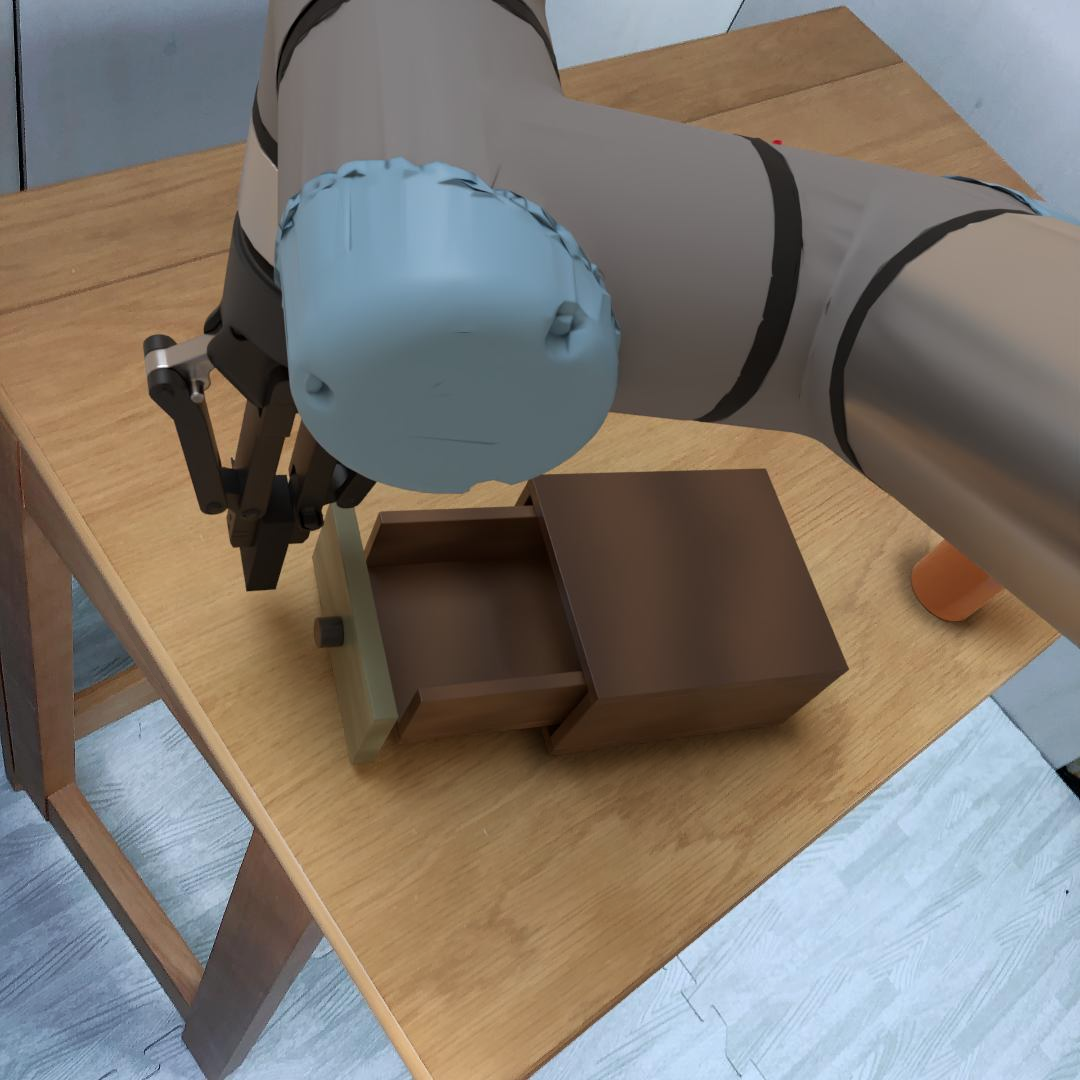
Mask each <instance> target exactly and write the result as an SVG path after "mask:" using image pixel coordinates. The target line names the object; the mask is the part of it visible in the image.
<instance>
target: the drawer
mask: <svg viewBox="0 0 1080 1080" xmlns="http://www.w3.org/2000/svg"><path fill="white" fill-rule="evenodd" d="M323 520H324V525H323V527H321V528H320V531H319V534H318V537H317V540H316V543H315V546H314V550H313V552H312V555H311V559H312V565H313V571H314V577H315V581H316V586H317V587H316V588H317V592H318V597H319V601H320V602H319V603H320V608H321V615H322V616H318V617H316V618H315V619H314V622H313V638H314V642H315V645H316V648H317V649H319V650H323V649H328V651H329V657H330V661H331V662H330V663H331V667H332V672H333V678H334V684H335V689H336V694H337V700H338V706H339V711H340V716H341V722H342V727H343V731H344V737H345V742H346V749H347V753H348V754H347V755H348V758H349V764H350V766H357V765H366V764H372V763H374V761H375V760H376V758H377V757H378V755H379V753H380V751H381V749H382V747H384V744H385V742H386V740H387V739H388V737H389V735H390V733H391V731H392V730H393V733H394V737H395V742H396V744H397V745H403V744H409V743H418V742H419V743H420V742H426V741H434V740H441V739H442V740H444V739H449V738H450V739H451V738H459V737H467V736H475V735H482V734H491V733H499V732H507V731H515V730H522V729H531V728H539V727H540V728H541V726H548V725H556V724H562V723H563V722H564V720H565V719H566V718H567V717H568V716H569V715H570V713H571V712H572V711H573V710H574V709H575V707H576V706H577V705H578V704H579V703H580V702H581V700H582V699H583V698H584V697H585V696H586V694H587V693H588V692H589V690H588V687H587V684H586V680H585V677H584V674H583V670H582V667H581V663H580V660H579V657H578V653H577V650H576V647H575V643H574V640H573V636H572V633H571V630H570V626H569V623H568V620H567V616H566V613H565V609H564V606H563V603H562V599H561V596H560V593H559V589H558V586H557V582H556V579H555V576H554V572H553V569H552V566H551V562H550V559H549V555H548V552H547V549H546V545H545V542H544V539H543V535H542V532H541V528H540V525H539V522H538V518H537V515H536V512H535V508H534V505H532V506H514V505H513V506H512V505H511V506H510V505H509V506H508V505H507V506H486V507H485V506H484V507H482V506H481V507H461V508H460V507H459V508H458V507H456V508H437V509H436V508H435V509H410V510H409V509H408V510H383V511H382V510H381V511H379V512H378V514H377V516H376V519H375V521H374V523H373V526H372V529H371V531H370V534H369V537H368V539H367V541H366V544H365V547H364V546H363V542H362V541H363V540H362V536H361V531H360V527H359V522H358V518H357V512H356V506H355V507H353V508H349V509H344V508H340V507H338V506H337V504H336V502H335V503H330V504H328V507H327V509H326V513H325V516H324V517H323Z"/></svg>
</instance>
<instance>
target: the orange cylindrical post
mask: <svg viewBox="0 0 1080 1080" xmlns="http://www.w3.org/2000/svg"><path fill="white" fill-rule="evenodd" d="M910 582H911V583H910V584H911V586H912V590H913V592H914V594H915V596H916V598H917V599H918V601H919V602H920V603H921V605H922V606H923V607H924V608H925V609H926V610H927V611H928V612H930V613H931V614H933V615H934V616H935V617H937V618H940V619H942V620H943V621H948V622H961V621H964V620H966V619H968V618H969V617H971V615H973V614H974V613H975V612H976V611H978V610H979V609H981V608H982V607H983V606H985V605H986V604H987V603H988V602H990V601H992V599H994V598H995V597H996V596H998V595H999V594H1000V593H1001V592H1003V591H1004V590H1006V589H1005V588H1004V587H1003V586H1002V585H1000V584H999V583H998V582H997V581H995V580H994V579H993V578H992V577H991V576H989V575H988V574H987V573H986V572H984V571H983V570H982V569H981V568H979V567H978V566H977V565H976V564H975V563H973V562H972V561H971V560H970V559H968V558H967V557H966V556H965V555H963V554H962V553H961V552H960V551H959V550H957V549H956V548H955V547H954V546H952V545H951V544H950V543H949V542H947V541H946V540H945V539H944V538H943V540H941V541H940V542H939V543H938V544H937V545H936V546H934V547H933V549H931V550H930V551H929V552H928V553H927V554H926V555H924V556H923V557H922V558H921V559H920V560H918V562H917V563H915V565H914V566H913V568H912V570H911V573H910Z"/></svg>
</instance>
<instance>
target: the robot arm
mask: <svg viewBox="0 0 1080 1080" xmlns="http://www.w3.org/2000/svg"><path fill="white" fill-rule="evenodd" d="M546 1H547V0H268V5H267V14H266V22H265V29H264V36H263V45H262V52H261V58H260V59H261V61H260V67H259V69H260V70H259V76H258V80H257V84H256V88H255V92H254V96H253V97H254V98H253V103H252V108H251V113H250V119H249V125H248V130H247V131H248V132H247V137H246V144H245V148H244V154H243V155H244V156H243V161H242V166H241V172H240V179H239V180H240V181H239V186H238V192H237V198H236V199H237V200H236V208H237V210H236V213H235V214H234V215H235V216H234V219H233V223H232V230H231V231H232V232H231V236H230V245H229V250H228V256H227V263H226V270H225V277H224V283H223V289H222V296H221V300H220V302H219V304H218V305H217V306H216V307H215V309H213V311H211V312H210V313H209V314H208V316H207V317H206V319H205V321H204V324H203V333H202V334H200V335H198V336H195V337H193V338H190V339H187V340H185V341H182V342H180V343H177V342H176V341H175V339H173V338H172V337H171V336H169V335H167V334H163V333H162V334H161V333H160V334H159V333H157V334H152V335H149V336H147V337H146V338H145V339H144V341H142V349H143V357H144V364H145V372H146V373H145V374H146V381H147V392H148V396H149V398H150V399H151V400H152V401H153V402H154V403H155V404H156V405H157V406H158V407H159V408H160V409H161V410H163V412H164V413H165V414H167V416H168V417H170V418H171V419H172V420H173V422H174V426H175V430H176V434H177V437H178V440H179V443H180V446H181V450H182V453H183V456H184V460H185V463H186V466H187V470H188V473H189V477H190V480H191V484H192V486H193V490H194V493H195V496H196V500H197V503H198V507H199V510H200V512H201V513H203V514H204V515H208V516H209V515H210V516H211V515H212V516H216V515H219V514H222V513H224V512H226V511H227V514H226V517H225V519H226V525H227V532H228V538H229V543H230V545H231V547H232V548H233V549H236V548H237V549H238V548H239V553H240V559H241V567H242V573H243V579H244V583H245V585H244V586H245V590H246V592H259V591H261V592H263V591H276V590H277V588H278V587H277V586H278V583H279V579H280V576H281V572H282V569H283V566H284V563H285V559H286V556H287V553H288V549H289V546H290V545H296V544H298V545H299V544H304V543H305V542H306V541H307V540H308V539H309V538H310V534H311V532H314V531H317V530H321V528H322V527H323V525H324V515H323V507H324V506H326V505H329V504H330V503H335V502H336V504H337V506H338V507H340V508H344V509H349V508H353V507H355V508H356V507H358V506H359V505H360V504H362V503H363V501H364V500H365V498H366V497H367V495H368V494H369V493H370V492H371V491H372V489H373V488H374V487H375V485H376V484H377V483H379V484H383V485H385V486H389V487H393V488H396V489H401V490H406V491H409V492H417V493H422V494H433V495H462V494H465V493H468V492H470V491H471V488H473V487H474V486H476V485H477V484H482V483H487V482H491V481H494V482H498V483H502V484H506V485H508V486H513V485H517V484H521V483H523V482H527V481H528V480H530V479H533V478H535V477H537V476H540V475H542V474H547V473H548V472H549V471H552V470H554V469H555V468H557V467H559V466H561V465H562V464H564V463H566V462H567V461H568V460H570V459H571V458H572V457H574V456H575V455H576V454H577V453H579V452H580V451H581V450H582V449H583V448H584V447H585V446H586V445H587V444H589V442H590V441H591V440H592V439H593V438H594V437H595V436H596V435H597V433H598V432H599V431H600V429H601V428H602V427H603V425H604V423H605V421H606V419H607V418H608V415H609V413H613V414H621V415H622V414H623V415H629V416H630V415H631V416H632V415H633V416H639V417H640V416H641V417H649V418H658V419H664V420H665V419H666V420H675V421H676V420H677V421H693V422H699V423H708V424H715V425H717V424H718V425H723V426H733V427H741V428H751V429H759V430H768V431H776V432H784V433H793V434H797V435H800V436H804V437H807V438H810V439H813V440H814V441H817V442H819V443H821V444H822V445H823V446H824V447H826V448H827V449H828V450H830V451H831V452H832V453H833V454H835V455H836V456H837V457H839V458H840V460H842V461H843V462H845V464H847V465H848V466H850V467H851V468H853V470H855V471H857V472H858V473H859V474H861V475H862V476H863V477H865V478H866V479H867V480H869V481H870V482H871V483H873V484H874V485H875V486H877V487H878V488H879V489H881V490H882V491H883V492H885V493H886V494H887V495H889V496H890V497H892V498H893V499H894V500H895V501H897V502H898V503H899V504H901V505H902V506H903V507H904V508H906V509H907V510H908V511H909V512H910V513H912V514H913V515H914V516H916V517H917V518H918V519H919V520H920V521H922V523H924V525H926V526H928V527H929V528H930V529H931V530H933V532H935V533H936V534H937V535H939V536H940V537H941V538H943V540H944V539H945V540H946V541H947V542H949V543H950V544H951V545H952V546H954V547H955V548H956V549H957V550H959V551H960V552H961V553H962V554H963V555H965V556H966V557H967V558H968V559H970V560H971V561H972V562H973V563H975V564H976V565H977V566H978V567H979V568H981V569H982V570H983V571H984V572H986V573H987V574H988V575H989V576H991V577H992V578H993V579H994V580H995V581H997V582H998V583H999V584H1000V585H1002V586H1003V587H1004V588H1005V589H1004V590H1006V591H1007V592H1009V593H1010V594H1011V595H1012V596H1014V597H1015V598H1016V599H1018V600H1019V601H1020V603H1022V604H1024V605H1025V606H1026V607H1027V608H1028V609H1030V610H1031V611H1032V612H1033V613H1035V614H1036V615H1037V616H1038V617H1039V618H1041V619H1042V620H1043V621H1044V622H1046V623H1047V624H1048V625H1050V627H1052V628H1053V629H1055V630H1056V631H1057V632H1058V633H1060V635H1062V636H1063V637H1064V638H1066V640H1068V641H1069V642H1070V643H1072V644H1073V645H1074V646H1075V647H1077V648H1078V649H1079V650H1080V219H1079V218H1078V217H1076V215H1074V214H1073V213H1072V212H1069V211H1067V210H1065V209H1064V208H1062V207H1060V206H1058V205H1056V204H1054V203H1053V204H1052V203H1051V202H1047V201H1044V200H1040V199H1036V198H1032V197H1031V196H1029V195H1027V194H1025V193H1024V192H1021V191H1018V190H1016V189H1013V188H1010V187H1007V186H1004V185H1000V184H998V183H992V182H987V181H983V180H979V179H976V178H972V177H967V176H962V175H956V174H955V175H953V174H946V175H941V176H938V175H934V174H929V173H925V172H921V171H915V170H911V169H905V168H901V167H896V166H891V165H886V164H881V163H877V162H871V161H866V160H861V159H856V158H851V157H845V156H840V155H834V154H830V153H825V152H819V151H815V150H814V151H813V150H808V149H803V148H799V147H793V146H787V145H782V144H781V145H778V144H773V143H772V142H767V141H765V140H763V139H762V138H760V137H752V136H747V135H742V134H737V133H730V132H726V131H721V130H717V129H712V128H709V127H708V128H707V127H704V126H699V125H694V124H689V123H685V122H680V121H676V120H671V119H667V118H662V117H657V116H652V115H648V114H643V113H639V112H635V111H630V110H625V109H621V108H617V107H612V106H606V105H600V104H595V103H591V102H586V101H582V100H576V99H571V98H568V97H567V96H565V93H564V90H563V87H562V83H561V76H560V75H561V74H560V72H559V67H558V62H557V56H556V54H555V51H554V46H553V41H552V36H551V32H550V27H549V24H548V19H547V14H546ZM214 369H216V370H217V371H218V372H219V373H220V374H221V375H222V376H223V377H224V378H225V379H226V380H227V382H229V383H230V384H231V385H232V386H233V387H234V388H235V390H236V391H238V392H239V393H240V395H242V396H243V397H244V398H245V399H246V403H245V407H244V412H243V418H242V422H241V427H240V432H239V436H238V442H237V447H236V451H235V457H232V456H231V457H230V464H231V467H226V466H223V464H222V460H221V456H220V452H219V448H218V444H217V440H216V437H215V435H216V434H215V431H214V428H213V424H212V420H211V415H210V412H209V407H208V404H207V399H206V394H205V392H206V391H207V390H208V389H210V387H211V385H212V380H211V372H212V371H213V370H214ZM296 415H299V417H300V422H299V427H298V431H297V434H296V438H295V441H294V446H293V449H292V453H291V457H290V461H289V464H288V467H287V468H288V469H287V472H288V474H277V471H278V467H279V463H280V459H281V457H282V453H283V448H284V444H285V441H286V438H290V437H291V434H292V430H293V426H294V422H295V419H296ZM288 476H289V479H288Z"/></svg>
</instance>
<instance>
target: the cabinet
mask: <svg viewBox="0 0 1080 1080" xmlns="http://www.w3.org/2000/svg"><path fill="white" fill-rule="evenodd" d="M532 505H534V508H535V512H536V515H537V518H538V522H539V525H540V528H541V532H542V535H543V539H544V542H545V545H546V549H547V552H548V555H549V559H550V562H551V566H552V569H553V572H554V576H555V579H556V582H557V586H558V589H559V593H560V596H561V599H562V603H563V606H564V609H565V613H566V616H567V620H568V623H569V626H570V630H571V633H572V636H573V640H574V643H575V647H576V650H577V653H578V657H579V660H580V663H581V667H582V670H583V674H584V677H585V680H586V684H587V687H588V690H589V692H588V693H587V694H586V696H585V697H584V698H583V699H582V700H581V702H580V703H579V704H578V705H577V706H576V707H575V709H574V710H573V711H572V712H571V713H570V715H569V716H568V717H567V718H566V719H565V720H564V722H563V723H562V724H556V725H548V726H540V729H541V733H542V736H543V740H544V743H545V744H544V745H545V747H546V750H547V755H548V756H555V755H556V756H557V755H565V754H572V753H579V752H586V751H587V752H588V751H594V750H595V751H596V750H602V749H609V748H617V747H624V746H631V745H638V744H646V743H652V742H661V741H667V740H668V741H669V740H675V739H682V738H683V739H684V738H689V737H696V736H697V737H698V736H703V735H712V734H719V733H727V732H735V731H740V730H741V731H742V730H748V729H756V728H763V727H764V728H765V727H769V726H771V727H772V726H778V725H783V724H784V723H785V722H787V721H788V720H790V718H792V717H793V716H794V715H795V714H796V713H798V712H799V711H800V710H801V709H802V708H804V707H805V706H806V705H807V704H809V703H810V702H811V701H812V700H814V699H815V698H816V697H817V696H819V695H820V694H821V693H822V692H823V691H824V690H826V689H827V688H828V687H829V686H831V685H832V684H833V683H834V682H836V681H837V680H838V679H839V678H841V677H842V676H843V675H845V674H846V673H847V672H848V671H850V668H849V665H848V663H847V661H846V658H845V656H844V653H843V651H842V648H841V646H840V644H839V641H838V639H837V636H836V635H835V634H836V633H835V631H834V629H833V627H832V624H831V622H830V620H829V617H828V614H827V612H826V610H825V607H824V605H823V603H822V601H821V598H820V595H819V593H818V591H817V588H816V586H815V584H814V581H813V578H812V576H811V574H810V571H809V569H808V566H807V564H806V562H805V559H804V557H803V555H802V552H801V549H800V548H799V545H798V543H797V540H796V537H795V535H794V533H793V531H792V527H791V526H790V523H789V521H788V518H787V516H786V514H785V511H784V508H783V506H782V504H781V501H780V499H779V496H778V494H777V492H776V490H775V487H774V485H773V482H772V480H771V477H770V474H769V472H768V471H767V468H765V467H763V468H762V467H761V468H732V469H731V468H727V469H725V468H724V469H691V470H689V469H687V470H656V471H655V470H653V471H652V470H651V471H616V472H615V471H614V472H582V473H581V472H576V473H544V474H542V475H540V476H537V477H535V478H533V479H530V480H527V481H526V484H525V486H524V487H523V489H522V491H521V493H520V494H519V496H518V498H517V500H516V502H515V504H514V505H513V506H532Z"/></svg>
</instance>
